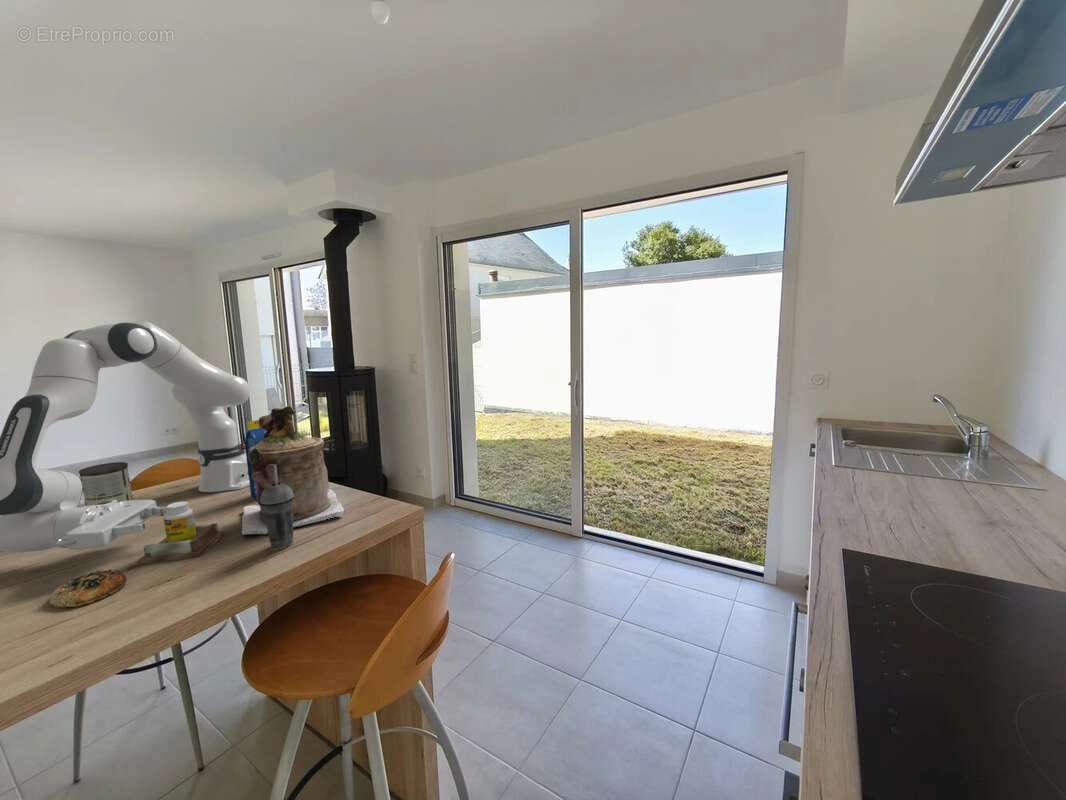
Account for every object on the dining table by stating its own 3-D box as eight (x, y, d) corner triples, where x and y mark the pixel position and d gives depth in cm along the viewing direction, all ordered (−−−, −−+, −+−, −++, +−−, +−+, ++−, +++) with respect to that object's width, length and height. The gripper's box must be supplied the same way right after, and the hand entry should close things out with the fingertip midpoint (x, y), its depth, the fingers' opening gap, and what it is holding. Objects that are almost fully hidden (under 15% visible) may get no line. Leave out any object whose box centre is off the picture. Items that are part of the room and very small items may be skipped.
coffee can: (80, 516, 127) (72, 469, 125) (125, 503, 136) (118, 460, 134) (96, 522, 122) (87, 474, 120) (141, 508, 131) (134, 464, 129)
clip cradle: (139, 563, 97) (136, 549, 97) (170, 540, 109) (168, 527, 109) (199, 556, 100) (197, 542, 100) (223, 534, 112) (222, 521, 111)
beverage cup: (260, 554, 100) (250, 471, 98) (270, 540, 107) (261, 463, 105) (295, 549, 102) (286, 468, 100) (302, 536, 109) (294, 460, 107)
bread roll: (139, 573, 93) (132, 553, 92) (111, 609, 83) (103, 587, 82) (73, 586, 90) (65, 565, 88) (35, 625, 80) (26, 602, 78)
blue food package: (298, 488, 147) (290, 416, 143) (262, 500, 136) (253, 422, 133) (286, 485, 149) (279, 414, 146) (250, 497, 139) (241, 421, 135)
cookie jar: (333, 493, 141) (325, 396, 137) (346, 518, 120) (336, 405, 116) (243, 510, 128) (230, 404, 124) (240, 542, 107) (224, 416, 103)
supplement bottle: (161, 550, 101) (155, 509, 100) (180, 539, 107) (174, 500, 106) (186, 549, 102) (180, 508, 100) (203, 538, 107) (197, 499, 106)
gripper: (44, 532, 89) (124, 523, 92) (114, 497, 108) (177, 491, 112) (49, 560, 90) (128, 551, 93) (118, 521, 109) (181, 515, 112)
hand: (155, 518), depth 102 cm, fingers open, 8 cm apart
